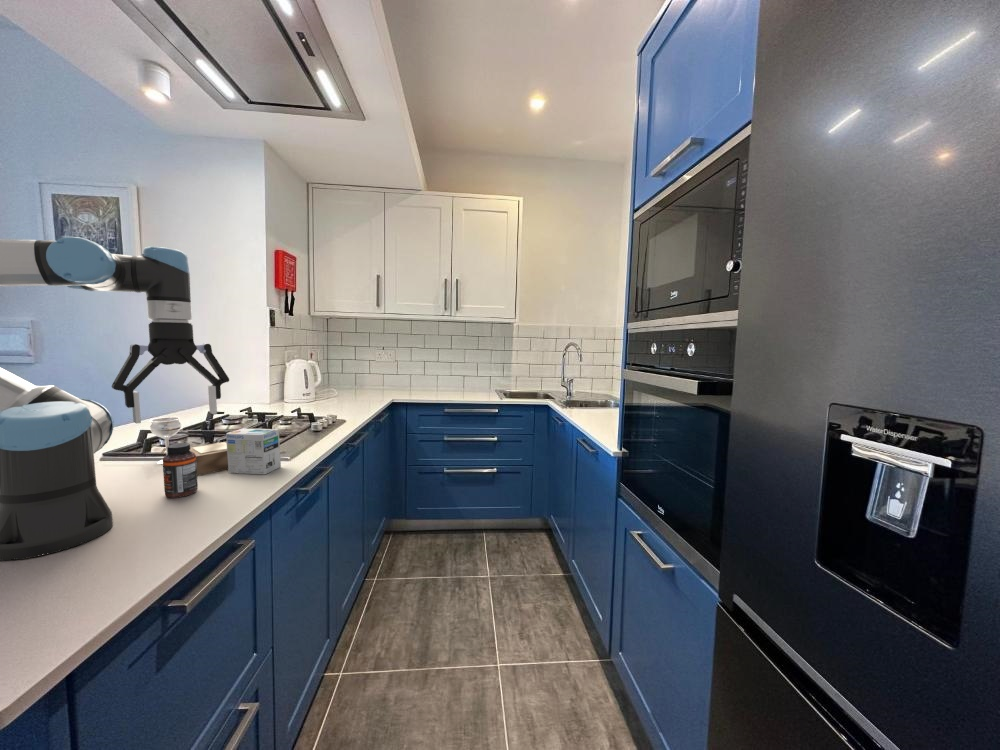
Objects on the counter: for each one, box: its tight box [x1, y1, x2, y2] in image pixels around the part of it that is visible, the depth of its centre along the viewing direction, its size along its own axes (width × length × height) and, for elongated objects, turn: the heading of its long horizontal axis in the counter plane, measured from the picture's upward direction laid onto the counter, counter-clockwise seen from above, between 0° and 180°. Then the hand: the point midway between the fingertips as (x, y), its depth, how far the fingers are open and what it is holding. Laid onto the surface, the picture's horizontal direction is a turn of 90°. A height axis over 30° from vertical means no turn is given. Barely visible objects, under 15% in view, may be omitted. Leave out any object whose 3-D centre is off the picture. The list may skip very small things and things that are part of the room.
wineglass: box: [149, 416, 182, 465], centre depth 115 cm, size 7×7×12 cm
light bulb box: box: [225, 427, 282, 475], centre depth 108 cm, size 11×7×11 cm, turn 84°
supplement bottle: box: [162, 442, 199, 499], centre depth 92 cm, size 6×6×11 cm
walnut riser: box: [190, 441, 228, 476], centre depth 111 cm, size 11×11×5 cm
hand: (177, 417), depth 91 cm, fingers open, 13 cm apart
